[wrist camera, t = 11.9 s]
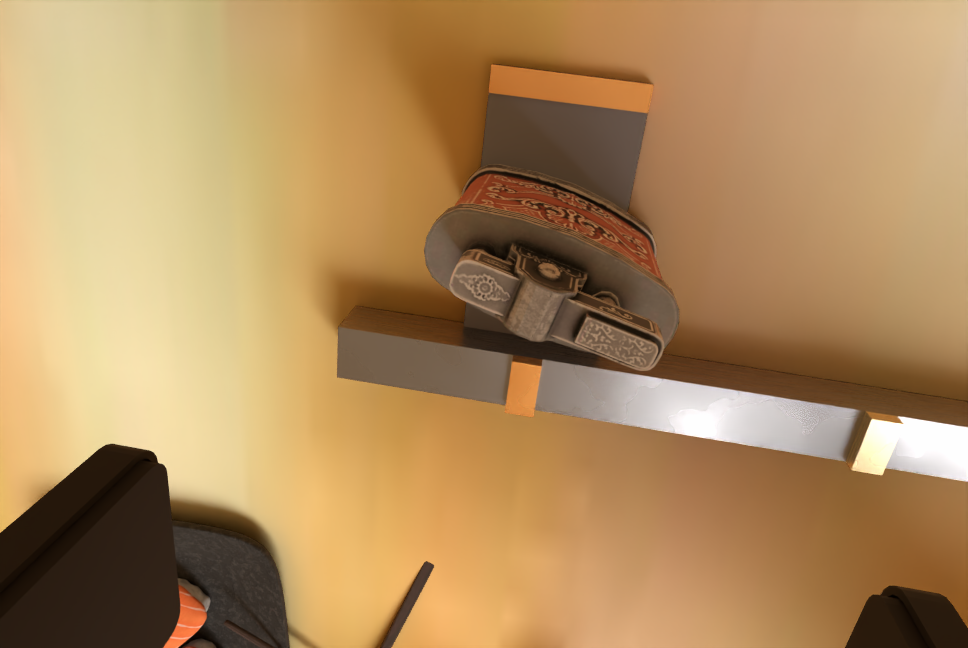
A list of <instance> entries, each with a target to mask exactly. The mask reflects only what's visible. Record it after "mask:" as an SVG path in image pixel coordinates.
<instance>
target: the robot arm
mask: <svg viewBox="0 0 968 648" xmlns="http://www.w3.org/2000/svg"><path fill="white" fill-rule="evenodd" d="M180 606H181V605H180V595H179V585H178V575H177V565H176V556H175V546H174V536H173V526H172V516H171V506H170V496H169V486H168V476H167V470H166V468H165V466H164V465H163V464H159V463H158V461H157V457H156V455H155V454H154V453H153V452H151V451H149V450H144V449H138V448H133V447H127V446H121V445H116V444H108V445H105V446H103V447H102V448H100V449H99V450H98V451H96V452H95V453H94V454H93V455H92V456H91V457H89V458H88V459H87V460H86V461H85V462H83V463H82V464H81V465H80V466H79V467H78V468H76V469H75V470H74V471H73V472H72V473H70V474H69V475H68V476H67V477H66V478H65V479H63V480H62V481H61V482H60V483H59V484H58V485H56V486H55V487H54V488H53V489H52V490H50V491H49V492H48V493H47V494H46V495H45V496H43V497H42V498H41V499H40V500H39V501H38V502H36V503H35V504H34V505H33V506H32V507H30V508H29V509H28V510H27V511H26V512H25V513H23V514H22V515H21V516H20V517H19V518H17V519H16V520H15V521H14V522H13V523H12V524H10V525H9V526H8V527H7V528H6V529H5V530H3V531H2V532H1V533H0V648H163V647H164V646H165V644H166V643H167V641H168V640H169V638H170V637H171V635H172V634H173V632H174V630H175V628H176V626H177V623H178V620H179V616H180ZM845 648H968V628H967V626H966V625H965V623H964V622H963V620H962V619H961V617H960V616H959V614H958V613H957V611H956V610H955V608H954V606H953V605H952V604H951V603H950V601H949V600H948V599H947V598H946V597H944V596H942V595H941V594H937V593H932V592H926V591H921V590H915V589H910V588H904V587H899V586H889V587H887V588H886V589H884V590H883V592H882V593H881V595H872V596H871V597H869V599H868V600H867V602H866V604H865V606H864V608H863V610H862V612H861V615H860V617H859V619H858V621H857V623H856V625H855V627H854V630H853V632H852V634H851V636H850V638H849V640H848V642H847V645H846V647H845Z"/></svg>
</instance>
